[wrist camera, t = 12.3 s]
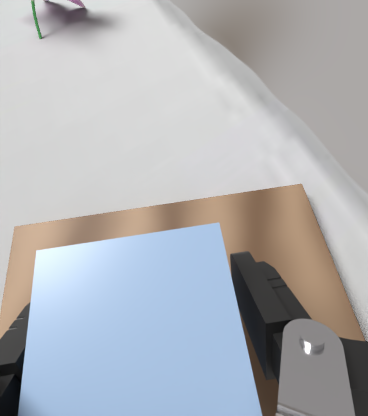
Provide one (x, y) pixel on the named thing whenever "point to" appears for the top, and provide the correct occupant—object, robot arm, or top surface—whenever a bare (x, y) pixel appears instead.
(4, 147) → the top surface
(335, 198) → the top surface
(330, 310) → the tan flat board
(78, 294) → the light blue block
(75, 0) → the lily
